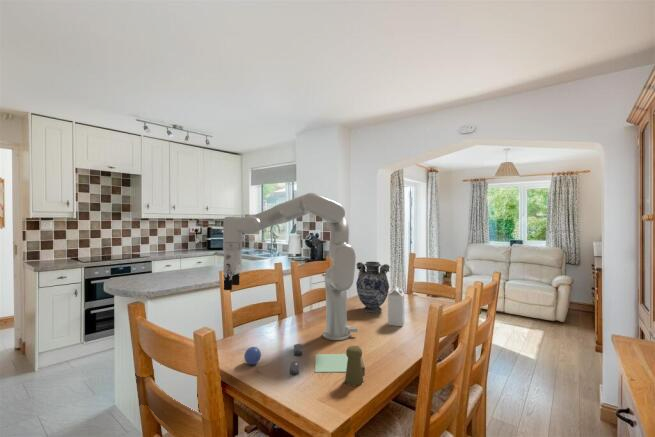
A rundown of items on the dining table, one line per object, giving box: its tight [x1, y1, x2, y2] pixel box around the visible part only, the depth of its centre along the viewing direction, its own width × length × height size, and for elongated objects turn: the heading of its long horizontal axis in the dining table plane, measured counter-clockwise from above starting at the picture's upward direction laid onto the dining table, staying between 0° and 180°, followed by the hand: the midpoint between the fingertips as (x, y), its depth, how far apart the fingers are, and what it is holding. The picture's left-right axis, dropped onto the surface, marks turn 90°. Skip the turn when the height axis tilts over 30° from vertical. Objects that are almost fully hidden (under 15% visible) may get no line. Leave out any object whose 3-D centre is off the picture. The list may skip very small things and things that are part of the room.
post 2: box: [289, 360, 300, 377], centre depth 106 cm, size 3×3×4 cm
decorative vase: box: [356, 261, 391, 314], centre depth 180 cm, size 21×19×28 cm
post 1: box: [293, 343, 303, 357], centre depth 121 cm, size 3×3×4 cm
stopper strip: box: [357, 345, 366, 376], centre depth 114 cm, size 2×18×2 cm, turn 1°
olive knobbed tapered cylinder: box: [344, 345, 364, 387], centre depth 101 cm, size 6×6×11 cm
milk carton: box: [387, 285, 405, 327], centre depth 157 cm, size 7×7×19 cm
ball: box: [243, 346, 262, 366], centre depth 113 cm, size 6×6×6 cm
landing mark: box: [314, 353, 348, 373], centre depth 114 cm, size 14×14×1 cm
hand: (231, 287), depth 128 cm, fingers open, 9 cm apart
